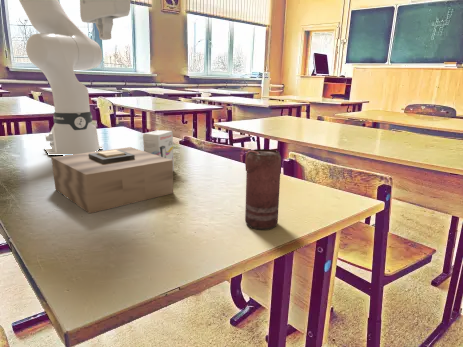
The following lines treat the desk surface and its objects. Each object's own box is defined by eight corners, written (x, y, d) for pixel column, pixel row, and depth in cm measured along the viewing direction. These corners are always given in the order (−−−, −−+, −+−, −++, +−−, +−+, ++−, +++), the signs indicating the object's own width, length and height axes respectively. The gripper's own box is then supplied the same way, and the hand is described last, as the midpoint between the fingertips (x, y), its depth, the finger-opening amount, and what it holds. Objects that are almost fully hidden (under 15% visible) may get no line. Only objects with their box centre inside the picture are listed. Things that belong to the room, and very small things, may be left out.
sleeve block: (55, 190, 86) (51, 153, 83) (132, 175, 99) (130, 143, 97) (89, 213, 72) (85, 169, 69) (173, 193, 85) (172, 155, 83)
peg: (101, 189, 85) (97, 152, 83) (118, 186, 88) (116, 150, 86) (109, 194, 82) (106, 155, 80) (127, 190, 85) (124, 153, 83)
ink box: (160, 178, 97) (158, 135, 94) (143, 176, 98) (141, 133, 95) (175, 170, 105) (173, 130, 102) (159, 169, 106) (157, 129, 103)
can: (242, 218, 71) (243, 148, 67) (273, 217, 71) (277, 148, 68) (245, 230, 65) (248, 154, 61) (280, 230, 65) (284, 154, 62)
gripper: (70, -18, 90) (76, 41, 94) (106, -35, 76) (111, 35, 79) (95, -14, 94) (99, 42, 98) (134, -29, 80) (137, 37, 84)
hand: (105, 39), depth 89 cm, fingers closed
